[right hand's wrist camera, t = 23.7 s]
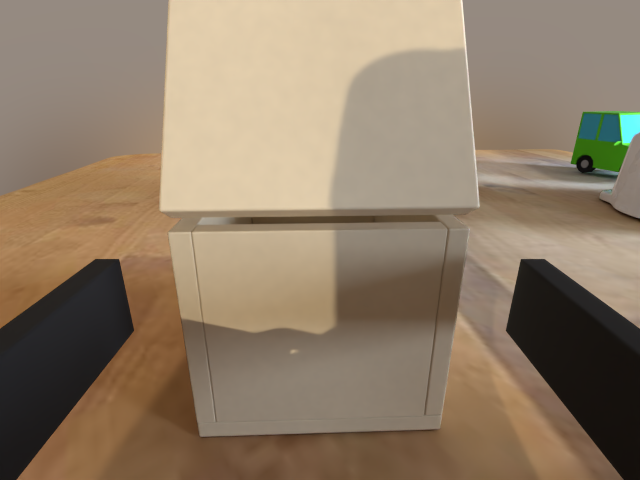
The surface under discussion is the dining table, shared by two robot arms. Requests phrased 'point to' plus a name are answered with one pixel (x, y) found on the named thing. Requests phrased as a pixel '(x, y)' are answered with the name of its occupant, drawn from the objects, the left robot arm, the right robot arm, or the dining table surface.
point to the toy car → (604, 139)
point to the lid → (316, 109)
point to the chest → (318, 320)
